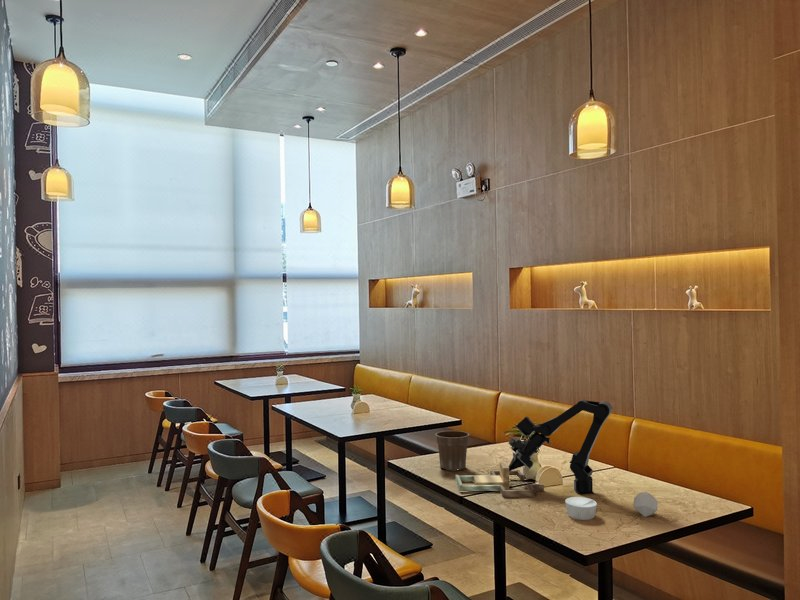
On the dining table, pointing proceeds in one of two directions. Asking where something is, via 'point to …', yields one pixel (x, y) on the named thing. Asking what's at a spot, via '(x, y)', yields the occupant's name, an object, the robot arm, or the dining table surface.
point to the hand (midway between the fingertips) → (508, 470)
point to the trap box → (505, 493)
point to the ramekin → (581, 508)
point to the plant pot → (452, 449)
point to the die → (645, 504)
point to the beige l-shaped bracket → (495, 477)
